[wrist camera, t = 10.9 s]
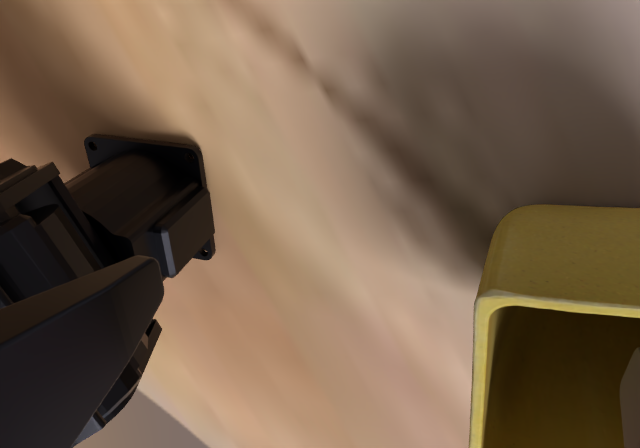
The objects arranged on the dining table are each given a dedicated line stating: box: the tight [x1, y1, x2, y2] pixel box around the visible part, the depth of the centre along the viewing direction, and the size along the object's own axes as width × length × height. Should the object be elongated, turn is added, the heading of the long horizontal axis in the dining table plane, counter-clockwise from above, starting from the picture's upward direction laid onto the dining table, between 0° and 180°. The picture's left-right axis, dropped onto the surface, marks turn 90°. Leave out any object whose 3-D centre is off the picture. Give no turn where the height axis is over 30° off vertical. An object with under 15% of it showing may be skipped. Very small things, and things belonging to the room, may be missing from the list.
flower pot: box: [469, 204, 640, 448], centre depth 18 cm, size 9×9×9 cm
